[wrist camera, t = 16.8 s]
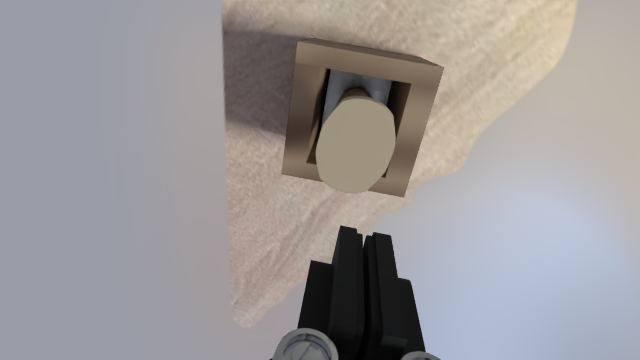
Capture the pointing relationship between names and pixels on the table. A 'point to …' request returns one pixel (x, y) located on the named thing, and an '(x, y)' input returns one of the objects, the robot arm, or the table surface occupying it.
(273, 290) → the table surface
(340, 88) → the dark glossy panel
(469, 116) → the table surface
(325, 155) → the handle
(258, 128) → the table surface
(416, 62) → the sleeve
